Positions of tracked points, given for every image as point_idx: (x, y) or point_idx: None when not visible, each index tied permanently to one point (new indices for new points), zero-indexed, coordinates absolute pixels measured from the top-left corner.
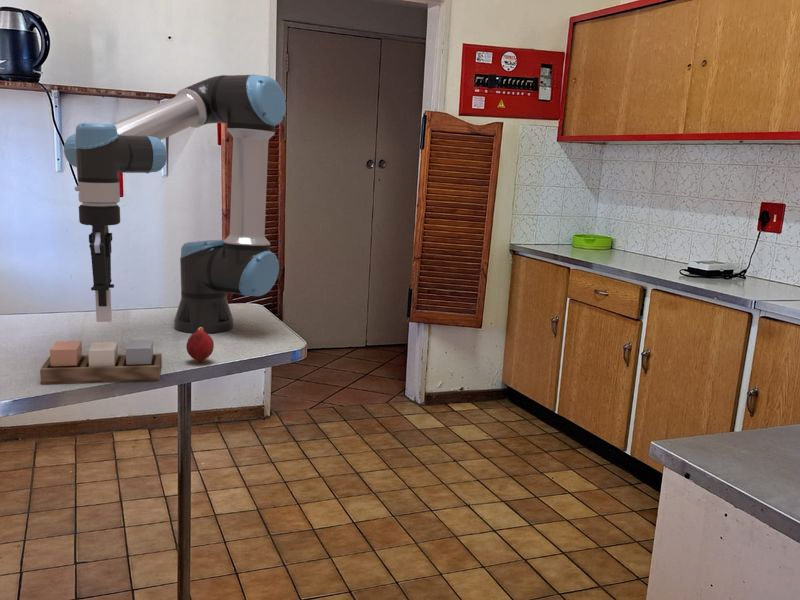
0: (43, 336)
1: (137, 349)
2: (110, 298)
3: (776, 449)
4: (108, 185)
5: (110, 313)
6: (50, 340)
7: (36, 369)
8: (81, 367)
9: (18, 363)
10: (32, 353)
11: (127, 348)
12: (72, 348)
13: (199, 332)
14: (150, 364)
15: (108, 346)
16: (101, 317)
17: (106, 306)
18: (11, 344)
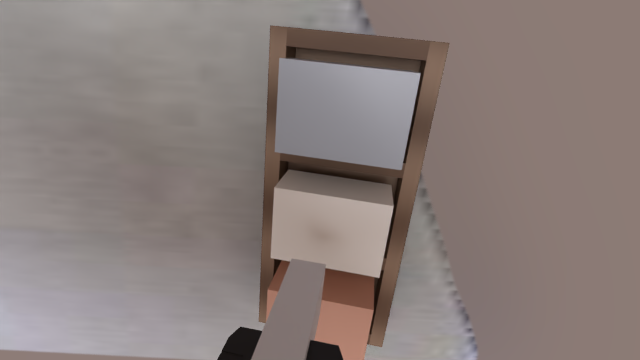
0: (6, 294)
1: (409, 127)
2: (273, 350)
3: None
4: None
5: (319, 291)
6: (35, 284)
7: None
8: (388, 266)
9: (213, 343)
10: (139, 319)
11: (397, 164)
12: (357, 317)
13: None
14: None
15: (335, 219)
16: (318, 311)
17: (311, 336)
18: (75, 346)
